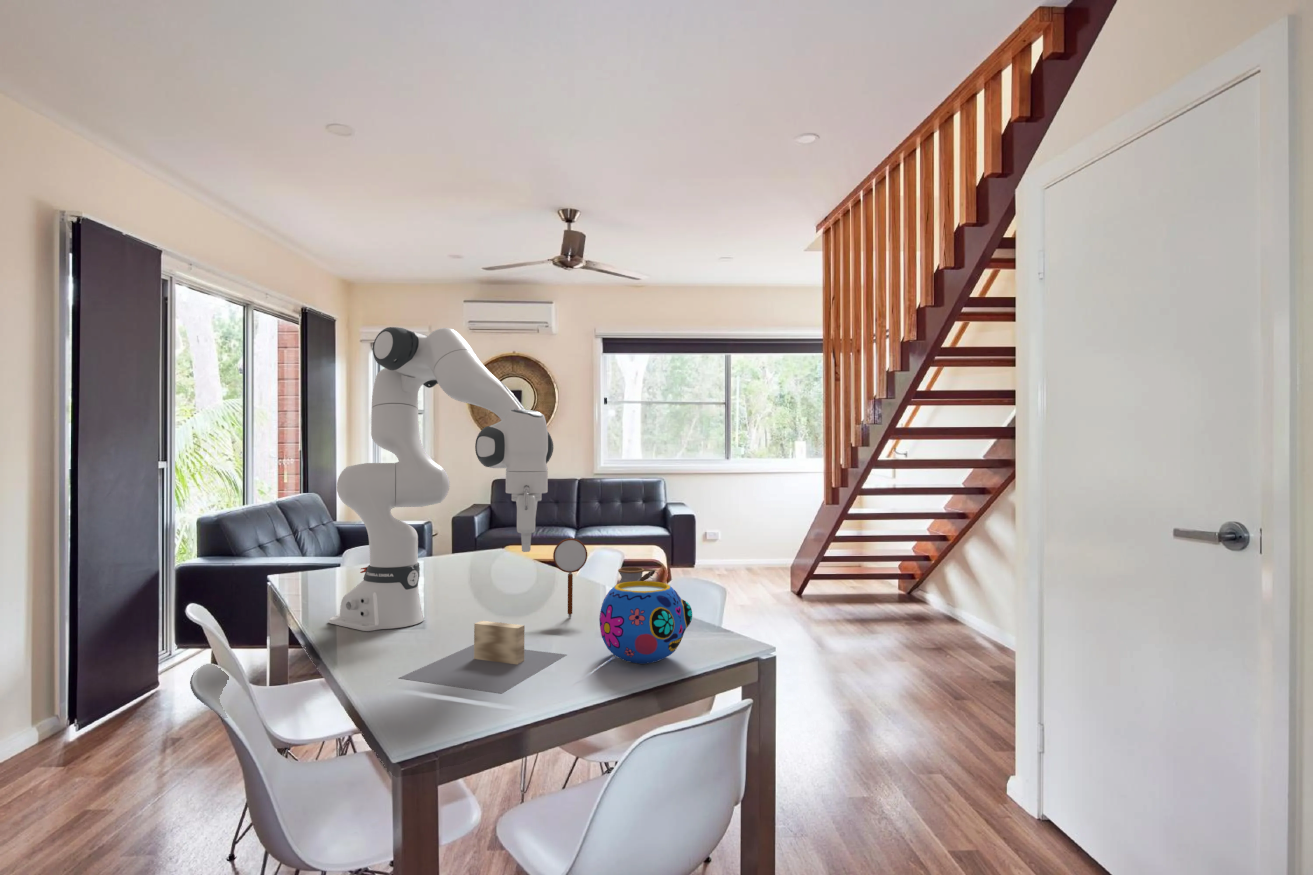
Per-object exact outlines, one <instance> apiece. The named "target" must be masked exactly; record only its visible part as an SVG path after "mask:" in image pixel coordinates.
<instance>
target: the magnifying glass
mask: <svg viewBox="0 0 1313 875" xmlns="http://www.w3.org/2000/svg"><path fill="white" fill-rule="evenodd" d="M552 554H553V555H552V557H553V562H554V565H555V566H556V568H558V569H559V570H560V571H561V572H565V573H568V574H567V614H568V615H567V616H568V618H571V617H572V614H573V588H574V587H573V584H574V583H573V579H574V578H573V577H574V576H573V573H576V572H579V571H580V570H581V569H582V568H583V567H584V566H585V565H586V563H587V559H588V550H587V547H586V545H585V544H584V543H583V542H582V541H581V540H580V539H576V538H573V537H571V538H566V539H563V540H561V541H559V542H558V543H557V544H556V546H555V548H554V549H553V552H552Z"/></svg>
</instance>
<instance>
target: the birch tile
mask: <svg viewBox="0 0 1313 875" xmlns="http://www.w3.org/2000/svg"><path fill="white" fill-rule="evenodd" d="M473 624H474V625H473V626H474V628H473V629H474V630H473V632H474V633H473V639H474V640H473V645H474V659H479V660H487V661H495V662H502V663H510V664H519V663H521V662H523V661H524V649H525V624H515V623H505V622H496V621H487V620H480V621H477V622H474V623H473Z"/></svg>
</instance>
